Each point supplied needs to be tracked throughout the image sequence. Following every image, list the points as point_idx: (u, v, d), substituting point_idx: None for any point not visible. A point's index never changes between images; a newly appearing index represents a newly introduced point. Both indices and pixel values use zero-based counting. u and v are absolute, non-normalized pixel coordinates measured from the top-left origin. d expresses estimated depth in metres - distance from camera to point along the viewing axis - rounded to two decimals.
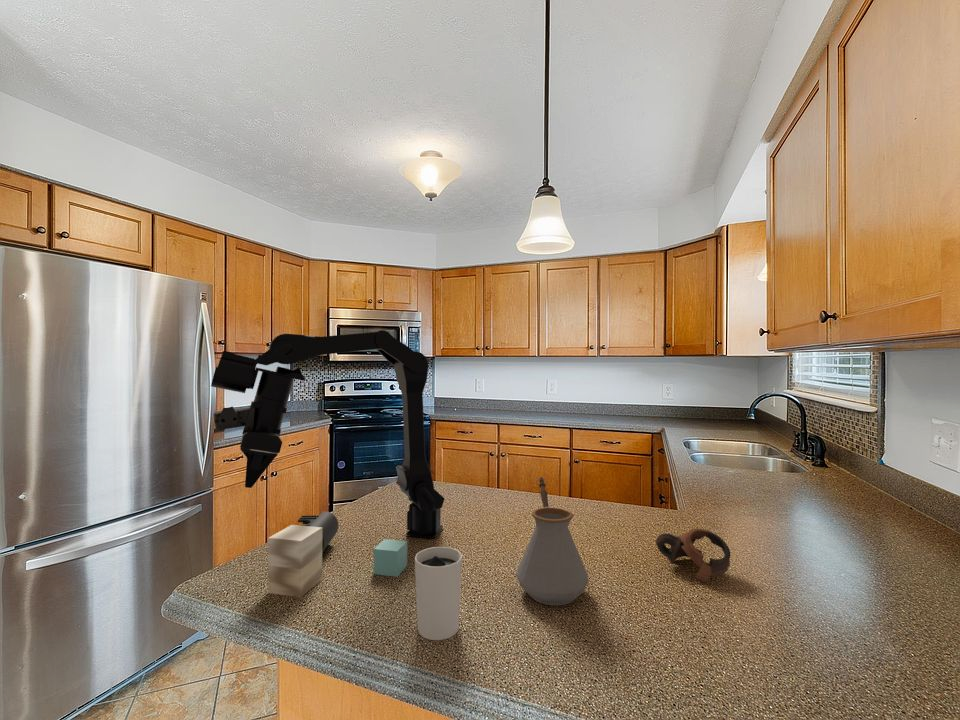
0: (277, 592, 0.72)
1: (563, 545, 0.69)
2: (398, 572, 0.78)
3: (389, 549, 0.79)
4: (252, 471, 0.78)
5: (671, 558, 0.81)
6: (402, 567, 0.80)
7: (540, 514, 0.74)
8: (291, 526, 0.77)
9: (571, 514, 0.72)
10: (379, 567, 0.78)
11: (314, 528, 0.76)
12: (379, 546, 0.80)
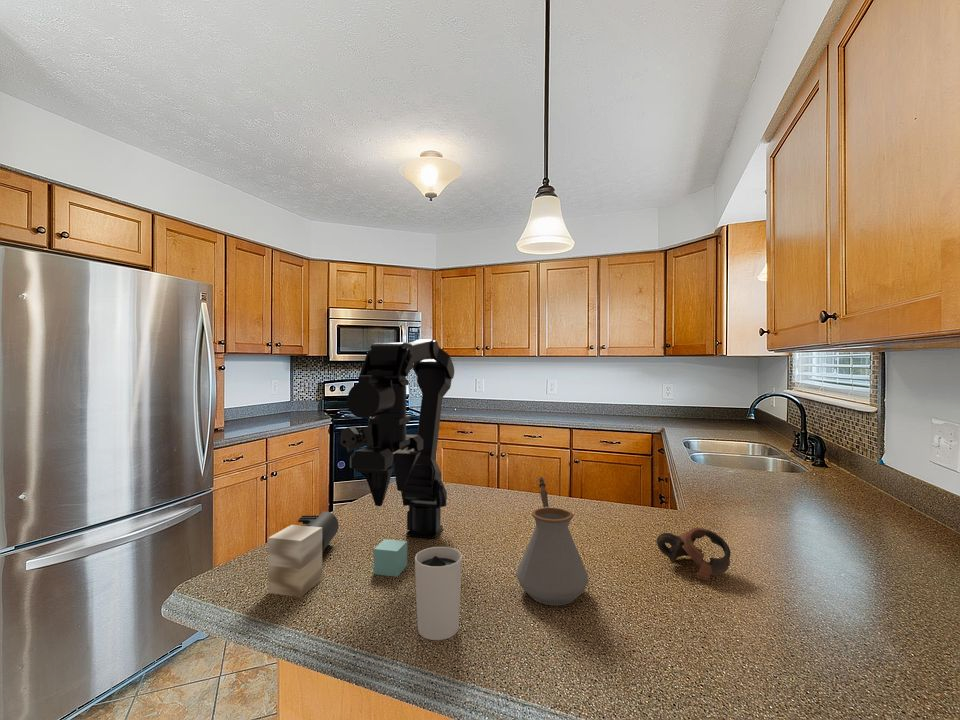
0: (277, 592, 0.72)
1: (563, 545, 0.69)
2: (398, 572, 0.78)
3: (389, 549, 0.79)
4: (376, 489, 0.75)
5: (671, 557, 0.81)
6: (402, 567, 0.80)
7: (540, 514, 0.74)
8: (291, 526, 0.77)
9: (571, 514, 0.72)
10: (379, 567, 0.78)
11: (314, 528, 0.76)
12: (379, 546, 0.80)
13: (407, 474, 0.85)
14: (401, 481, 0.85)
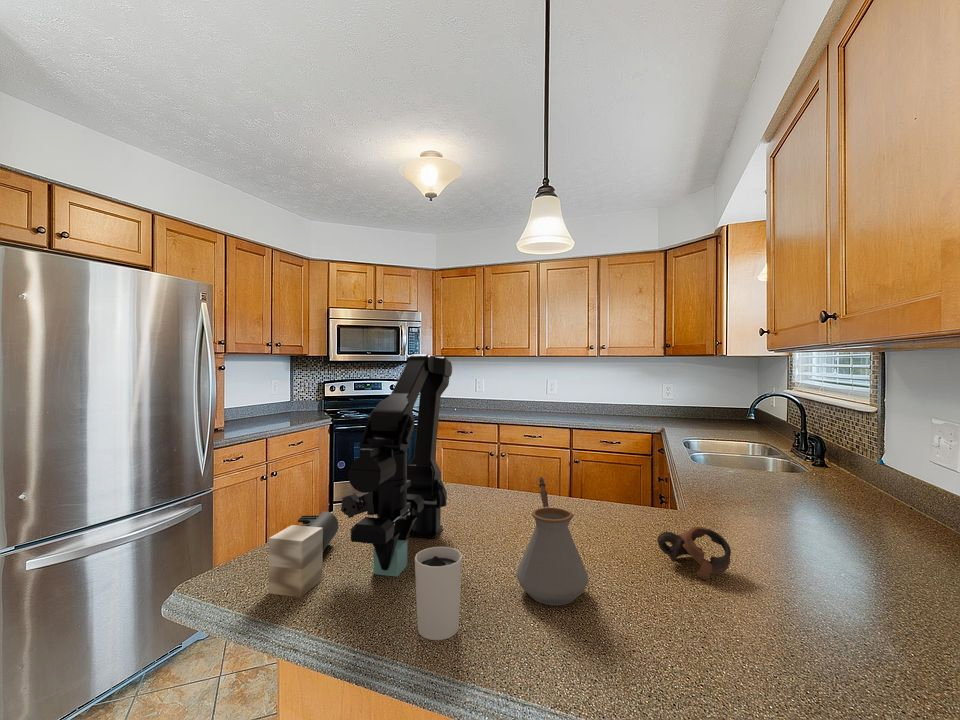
0: (277, 592, 0.72)
1: (563, 545, 0.69)
2: (398, 571, 0.78)
3: None
4: (382, 554, 0.77)
5: (672, 556, 0.81)
6: (402, 566, 0.80)
7: (540, 514, 0.74)
8: (291, 526, 0.77)
9: (571, 514, 0.72)
10: (379, 566, 0.78)
11: (315, 528, 0.76)
12: None
13: None
14: None
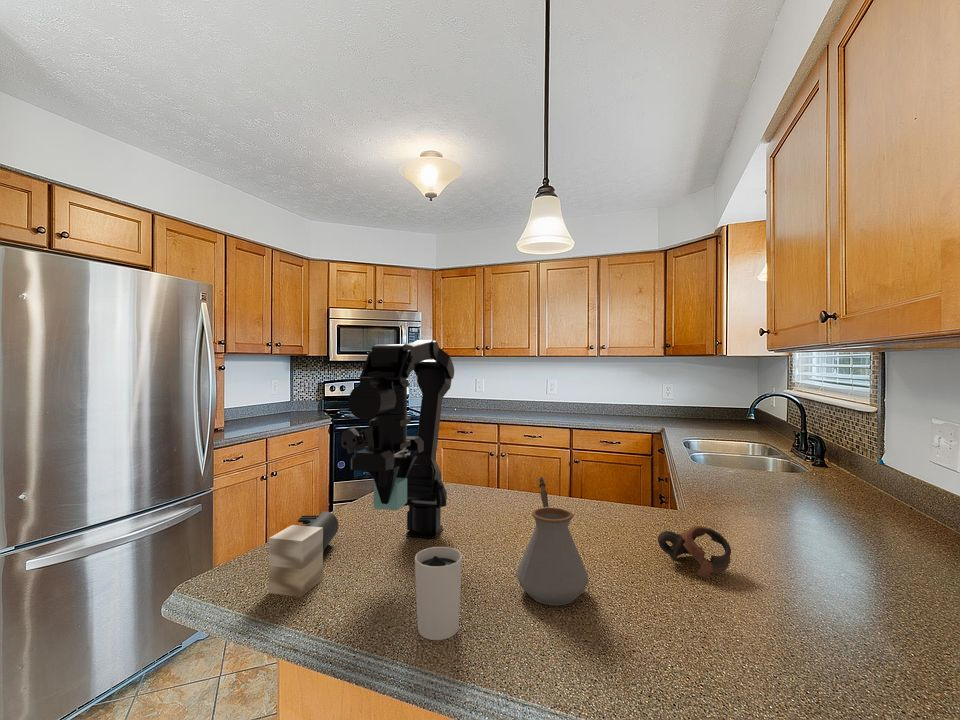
0: (277, 592, 0.72)
1: (563, 545, 0.69)
2: (398, 506, 0.78)
3: None
4: (382, 488, 0.77)
5: (673, 555, 0.82)
6: (402, 502, 0.80)
7: (540, 514, 0.74)
8: (292, 526, 0.77)
9: (571, 514, 0.72)
10: (379, 500, 0.78)
11: (315, 528, 0.76)
12: None
13: None
14: None
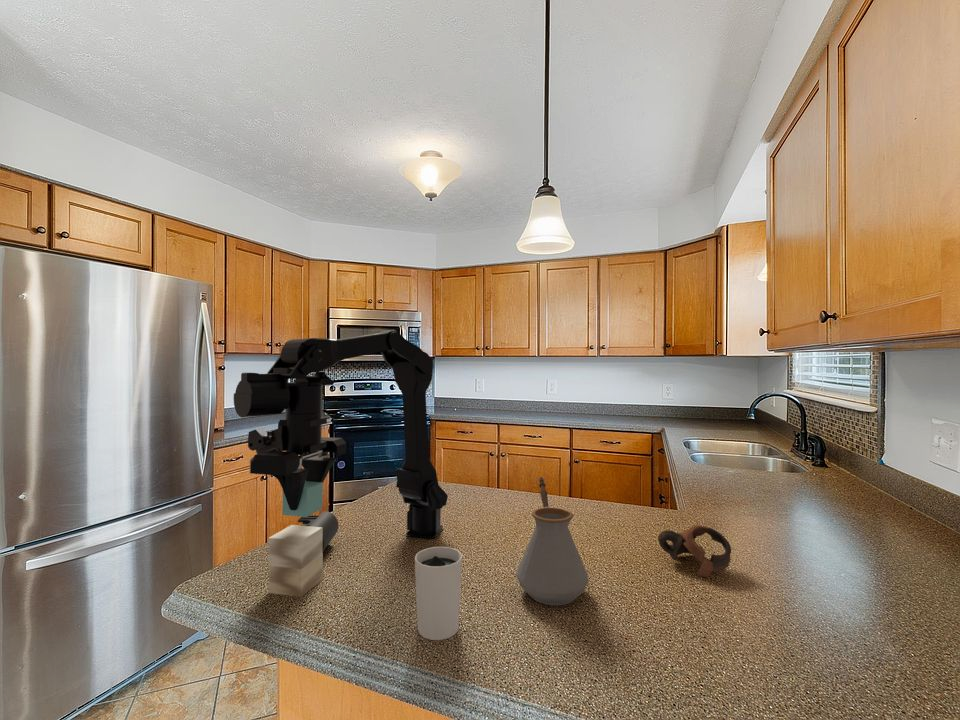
0: (277, 592, 0.72)
1: (563, 545, 0.69)
2: (308, 512, 0.73)
3: None
4: (290, 493, 0.72)
5: (673, 554, 0.82)
6: (314, 508, 0.74)
7: (540, 514, 0.74)
8: (291, 526, 0.77)
9: (571, 514, 0.72)
10: (288, 506, 0.73)
11: (315, 528, 0.76)
12: None
13: None
14: None
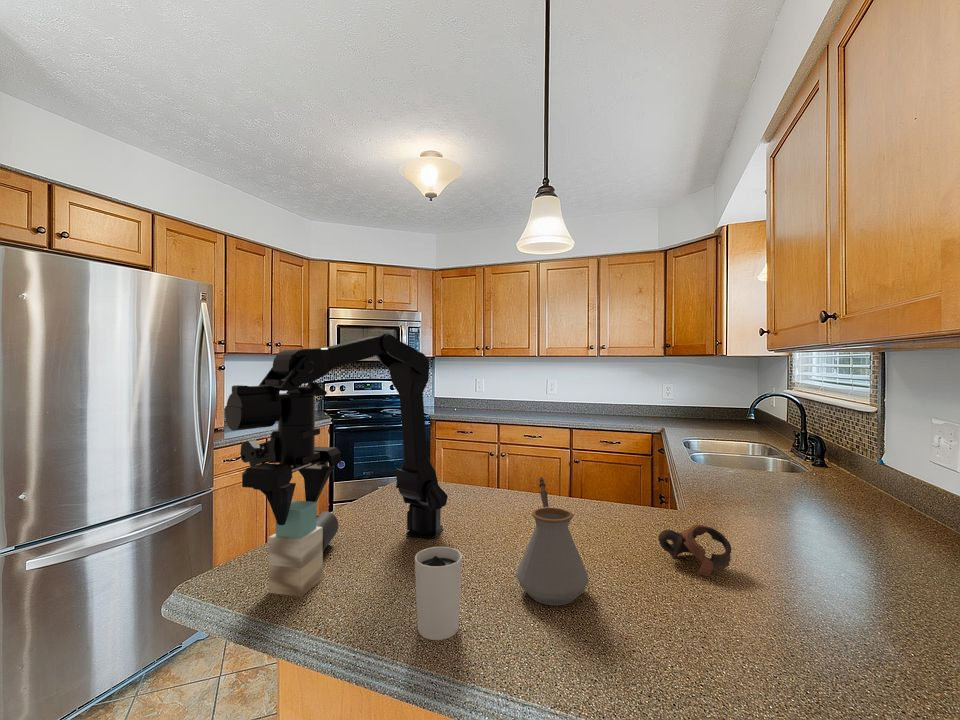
0: (277, 591, 0.72)
1: (563, 545, 0.69)
2: (302, 533, 0.72)
3: (293, 508, 0.73)
4: (277, 507, 0.70)
5: (673, 554, 0.82)
6: (308, 529, 0.74)
7: (540, 514, 0.74)
8: None
9: (571, 514, 0.72)
10: (282, 527, 0.73)
11: None
12: None
13: (317, 491, 0.78)
14: (311, 499, 0.78)
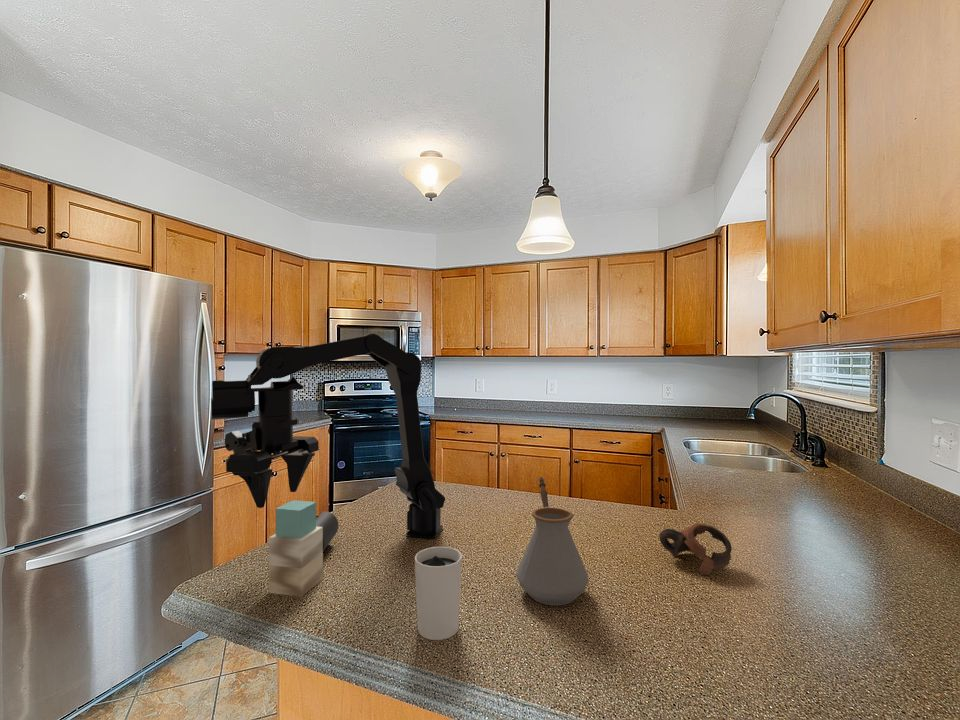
0: (278, 591, 0.72)
1: (563, 545, 0.69)
2: (301, 533, 0.72)
3: (292, 508, 0.73)
4: (256, 492, 0.77)
5: (674, 552, 0.83)
6: (308, 529, 0.74)
7: (540, 514, 0.74)
8: None
9: (571, 514, 0.72)
10: (281, 527, 0.73)
11: None
12: (283, 506, 0.74)
13: (299, 475, 0.86)
14: (293, 483, 0.86)
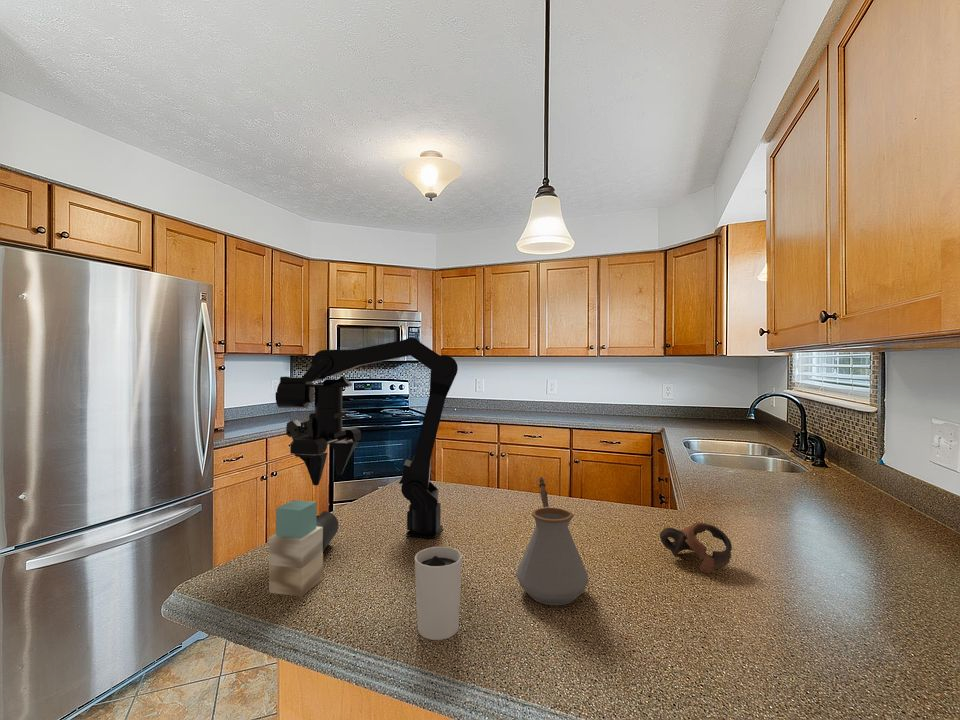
0: (278, 591, 0.72)
1: (563, 545, 0.69)
2: (302, 533, 0.72)
3: (293, 508, 0.73)
4: (313, 471, 0.91)
5: (675, 551, 0.83)
6: (308, 528, 0.74)
7: (540, 514, 0.74)
8: None
9: (571, 514, 0.72)
10: (282, 527, 0.73)
11: None
12: (283, 506, 0.74)
13: (345, 460, 1.01)
14: (340, 467, 1.01)
